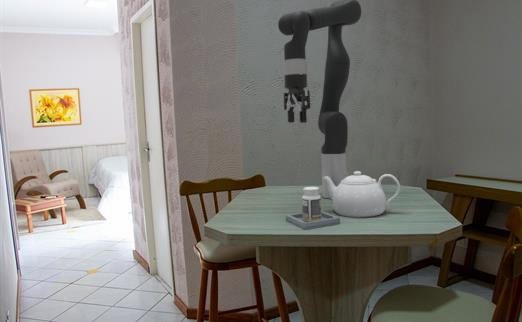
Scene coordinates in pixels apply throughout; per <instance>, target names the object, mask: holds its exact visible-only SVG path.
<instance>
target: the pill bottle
mask: <svg viewBox="0 0 522 322" xmlns="http://www.w3.org/2000/svg"><path fill="white" fill-rule="evenodd" d="M319 192H320V188H319V187H318V186H306V187H303V193H304V194H303V195H302V197H301V198H302V199H301V201H302V203H301V204H302V205H301V207H302V213H303V220H304V221H307V222H311V221H317V220H321V211H322V197H321V195H320V194H319Z"/></svg>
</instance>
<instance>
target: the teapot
mask: <svg viewBox="0 0 522 322" xmlns="http://www.w3.org/2000/svg"><path fill="white" fill-rule="evenodd" d="M385 178H390V179H392V180H393V181H394V183H395V184H396V192H395V193H394V195H392V196H391V197H390V198H388V199H387V197H386V193H385V191H384V189H383V188H382V187H383V185H382V180H383V179H385ZM320 181H321V182H322V181H325V182H326V184H327V186H328V192H329V195H330V198H331V201H332V205H333V206H332V207H333V209H334V212H335V213H336V214H338V215H340V216H343V217H349V218H369V217H377V216H379V215H381V214H383V213H384V212H385V211H386V210H387V209H388V208H389V206H390V203H391V202H392V201H393V200H394V199H396V198H397V197H398V195H399V194H400V192H401V185H400V182H399V180H398V179H397V177H396V176H394V175H393V174H390V173H385V174H382V175H381V176H380V177H379V178H378V181H377V179H375V178H372V177H371V176H369V175H365V174H362V172H361V171H359V170H356V171H353V175H348V177H346V178H344V179H343V180H342V181H341V183H340V184H339V185H338V186H337V187H336V186H335V185H334V184H333V182H332V180H331V179H330V178H329V177H328V176H325V177H324V178H323V179H322V178H321V179H320ZM330 198H329V199H330Z"/></svg>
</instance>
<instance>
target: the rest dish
mask: <svg viewBox="0 0 522 322" xmlns="http://www.w3.org/2000/svg"><path fill="white" fill-rule="evenodd" d="M285 222H287V223H290V224H292V225H294V226H296V227H298V228H301V229H302V230H311V229H316V228H323V227H328V226H335V225H340V224H341V218H340V217H338V216H336V215H333V214H330V213H327V212H325V211H323V210H321V220H317V221H311V222H307V221H304V220H303V212H297V213H291V214H286V215H285Z"/></svg>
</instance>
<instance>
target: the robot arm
mask: <svg viewBox="0 0 522 322" xmlns="http://www.w3.org/2000/svg"><path fill="white" fill-rule="evenodd" d="M361 17H362V7H361V4H360V2H359V1H358V0H337V1H333V2H331V4H330V6H325V7H316V8H315V7H314V8H309V9H305V10H302V9H301V10H295V11H293V12H288V13H285V14H283V15H282V16H281V17H280V18H279V19H278V22H277V23H278V24H277V27H278V30H279V32H280V33H281V34H282V35H284V36H292V38H291V39H290V40H289V41H288V42H286V43H285V44H284V48H283V52H284V53H283V54H284V64H283V74H284V75H283V76H284V77H283V78H284V89H285V90H288V91H287V92H283V110H284V111H286V112H287V122H288V123H295V108H296V107H297V108H298V109H299V112H298V113H299V123H302V124H304V123H305V124H306V123H307V111H308V110H309V109H311V96H310V90H309V89H307V88H308V75H307V74H308V71H307V70H308V69H307V66H308V65H307V62H306V61H307V59H306V56H307V55H306V45H307V41H308V36H309V32H310V31H315V30H320V29H323V28H326V27H327V28H328V30H327V31H328V32H327V34H328V35H327V49H326V57H325V59H326V60H325V65H324V67H325V68H324V79H323V86H322V87H323V89H322V100H321V106H320V111H319V115H318V120H317V127H318V131H320V133H321V134H323V135H324V143H323V145H322V146H321V152H320V153H321V179H323V178H324V177H325V176H328V177H329V178H330V179H331V180H332V182H333V184H334V185H335V186H336V187H337V186H338V185H339V184H340V183H341V181H342V180H343V179H344V178H346V177H348V176H349V172H348V171H347V166H346V165H347V163H346V162H347V161H346V154H347V153H346V148H347V146H348V134H349V133H348V132H349V131H348V130H349V129H348V128H349V127H348V125H349V124H348V120H347V117H346V115H345V114H344V113H343V112H341V111H340V102H341V98H342V96H343V93H344V91H345V88H346V86H347V83H348V81H349V76H350V65H351V59H350V56H349V53H348V52H347V49H346V48H345V45H344V42H343V39H342V30H343V29H342V28H343V26H351V25H354V24H356V23H358V22H359V20H360V19H361ZM321 182H322V183H321V185H322V186H321V187H322V188H321V189H322V190H321V191H322V197H323V198H325V199H331V198H330V195H329V192H328V186H327V184H326V182H325V181H322V180H321Z"/></svg>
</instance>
